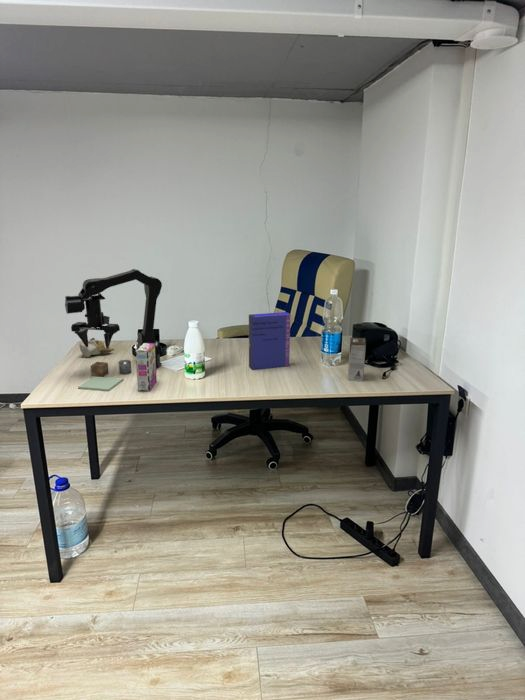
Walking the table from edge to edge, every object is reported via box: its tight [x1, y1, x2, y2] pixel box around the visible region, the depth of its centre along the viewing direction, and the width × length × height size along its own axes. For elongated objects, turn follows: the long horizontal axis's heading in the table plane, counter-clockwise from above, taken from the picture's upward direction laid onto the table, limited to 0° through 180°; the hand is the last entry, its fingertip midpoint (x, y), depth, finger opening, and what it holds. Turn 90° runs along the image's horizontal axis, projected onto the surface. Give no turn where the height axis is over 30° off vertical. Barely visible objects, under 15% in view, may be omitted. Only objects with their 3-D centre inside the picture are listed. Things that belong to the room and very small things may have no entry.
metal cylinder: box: [118, 359, 133, 376], centre depth 201 cm, size 5×5×5 cm
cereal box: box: [248, 311, 291, 371], centre depth 207 cm, size 17×5×24 cm, turn 108°
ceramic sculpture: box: [79, 337, 115, 358], centre depth 224 cm, size 11×9×15 cm
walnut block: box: [90, 361, 110, 378], centre depth 198 cm, size 5×5×5 cm
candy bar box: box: [135, 342, 158, 392], centre depth 184 cm, size 11×5×16 cm, turn 178°
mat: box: [77, 376, 124, 392], centre depth 188 cm, size 13×12×1 cm
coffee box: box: [347, 337, 367, 382], centre depth 195 cm, size 9×6×16 cm
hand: (97, 347), depth 195 cm, fingers open, 9 cm apart
